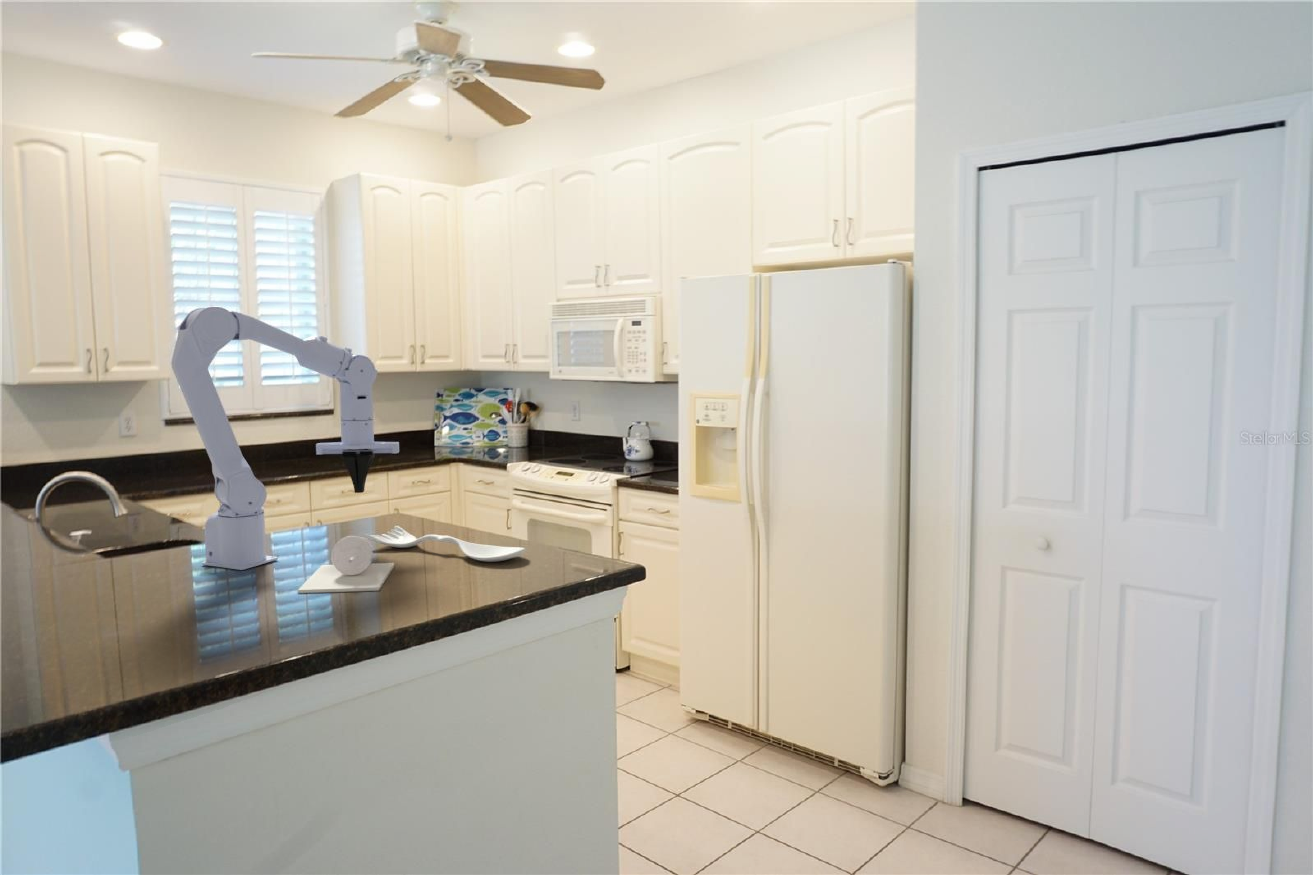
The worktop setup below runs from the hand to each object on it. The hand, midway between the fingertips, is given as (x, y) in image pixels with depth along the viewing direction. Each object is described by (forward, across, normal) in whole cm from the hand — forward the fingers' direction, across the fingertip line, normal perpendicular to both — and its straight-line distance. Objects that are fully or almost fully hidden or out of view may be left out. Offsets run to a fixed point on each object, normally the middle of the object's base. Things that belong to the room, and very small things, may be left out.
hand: (359, 491), depth 161 cm
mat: (+10, +2, -23) cm, 25 cm away
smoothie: (+7, +2, -14) cm, 16 cm away
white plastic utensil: (+11, +16, -8) cm, 21 cm away
